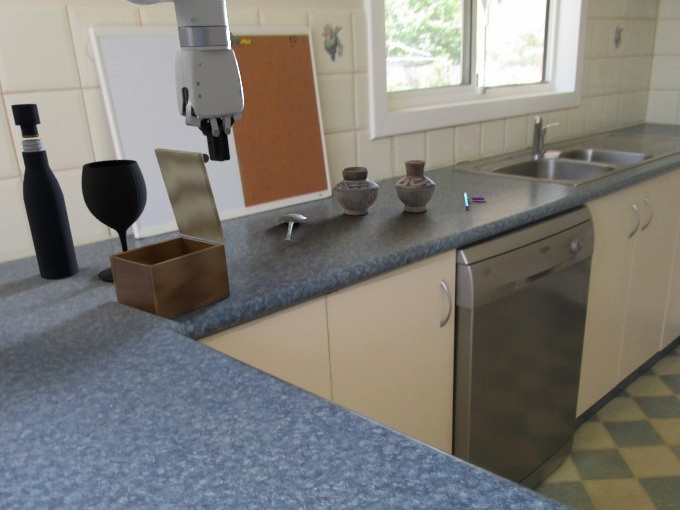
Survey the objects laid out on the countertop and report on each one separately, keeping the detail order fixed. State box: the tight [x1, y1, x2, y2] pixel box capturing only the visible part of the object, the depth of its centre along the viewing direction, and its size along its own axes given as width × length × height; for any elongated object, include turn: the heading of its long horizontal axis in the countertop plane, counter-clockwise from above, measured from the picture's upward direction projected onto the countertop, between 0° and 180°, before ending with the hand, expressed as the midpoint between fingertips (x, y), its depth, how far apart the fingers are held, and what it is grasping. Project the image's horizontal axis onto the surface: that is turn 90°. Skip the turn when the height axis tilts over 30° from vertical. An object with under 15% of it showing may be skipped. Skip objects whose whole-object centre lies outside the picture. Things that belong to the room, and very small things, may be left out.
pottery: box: [332, 159, 436, 216], centre depth 161 cm, size 11×25×12 cm, turn 97°
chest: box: [108, 235, 231, 320], centre depth 105 cm, size 14×11×9 cm
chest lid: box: [154, 147, 226, 243], centre depth 106 cm, size 14×11×4 cm
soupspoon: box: [277, 213, 307, 247], centre depth 145 cm, size 22×3×7 cm
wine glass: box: [80, 159, 148, 283], centre depth 118 cm, size 10×10×20 cm
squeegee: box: [463, 192, 485, 209], centre depth 170 cm, size 15×1×5 cm
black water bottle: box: [10, 103, 80, 280], centre depth 117 cm, size 6×6×30 cm
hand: (220, 160), depth 109 cm, fingers closed
